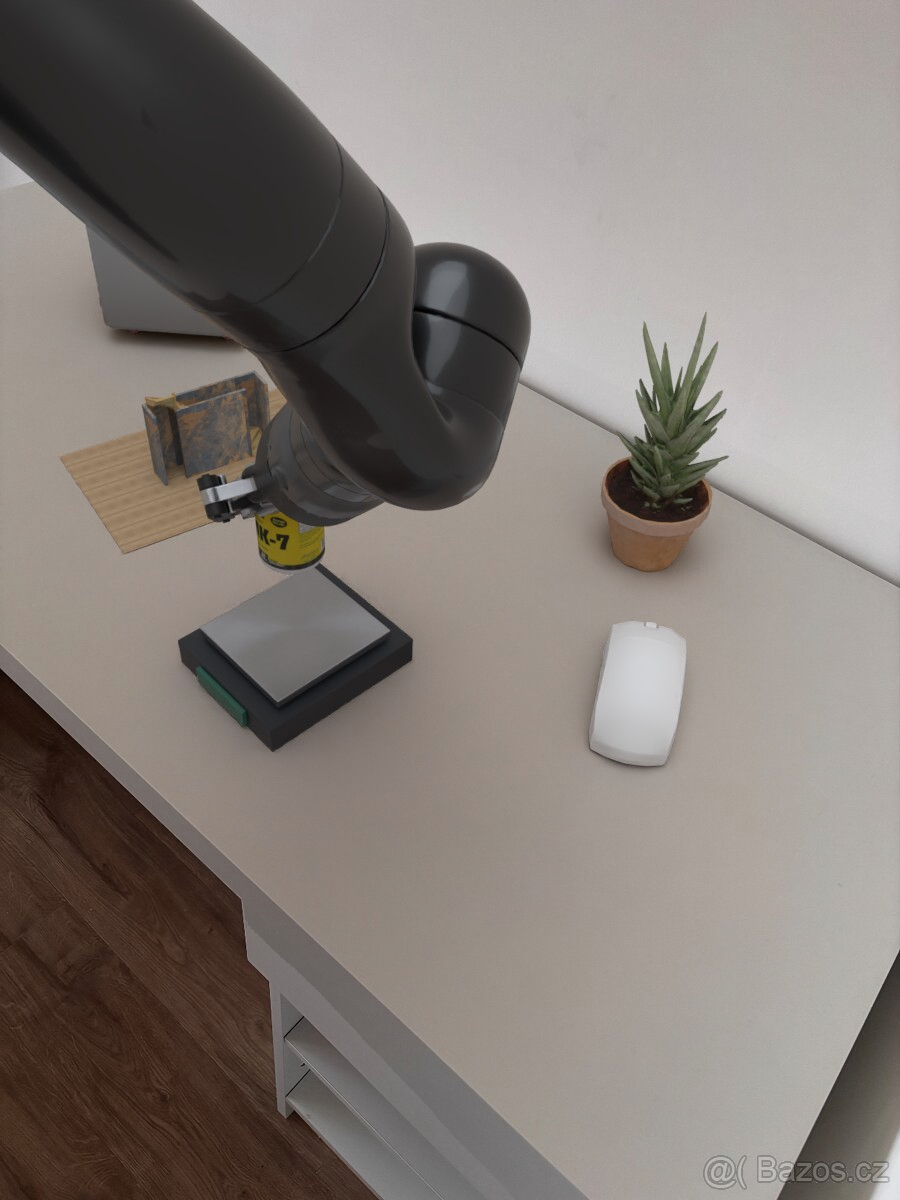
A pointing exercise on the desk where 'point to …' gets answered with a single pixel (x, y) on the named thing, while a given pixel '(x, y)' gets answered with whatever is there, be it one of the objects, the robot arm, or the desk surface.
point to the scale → (312, 703)
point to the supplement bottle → (289, 544)
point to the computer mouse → (638, 694)
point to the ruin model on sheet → (174, 458)
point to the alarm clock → (139, 297)
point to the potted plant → (663, 466)
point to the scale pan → (294, 635)
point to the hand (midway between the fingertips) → (279, 494)
